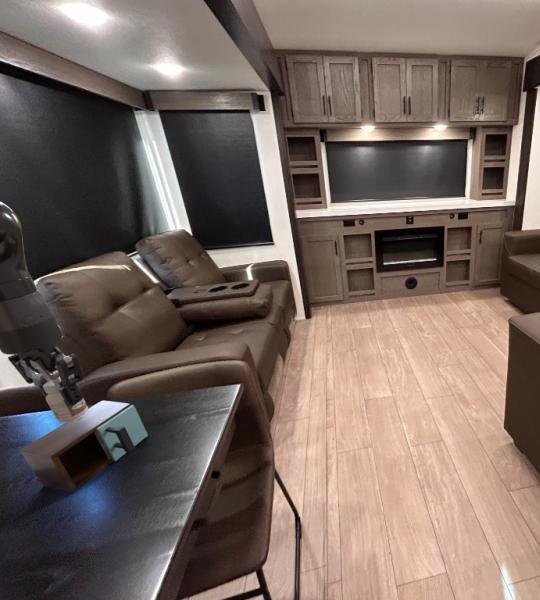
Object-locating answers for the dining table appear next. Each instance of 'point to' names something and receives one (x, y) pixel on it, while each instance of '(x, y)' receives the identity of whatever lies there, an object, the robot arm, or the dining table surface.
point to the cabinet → (73, 449)
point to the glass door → (122, 432)
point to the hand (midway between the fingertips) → (66, 401)
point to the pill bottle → (62, 404)
